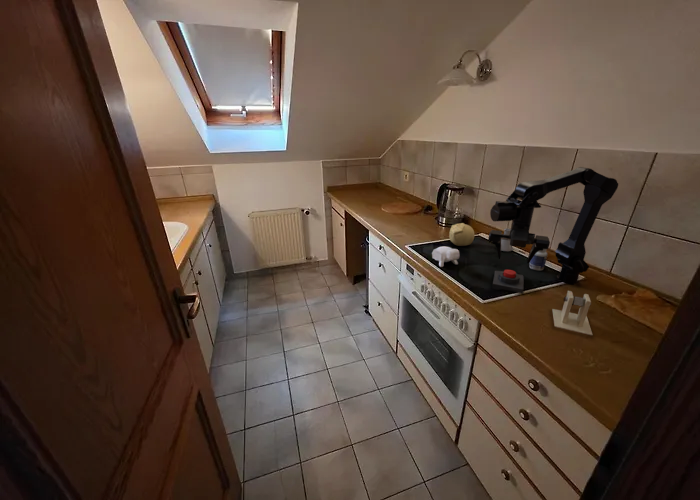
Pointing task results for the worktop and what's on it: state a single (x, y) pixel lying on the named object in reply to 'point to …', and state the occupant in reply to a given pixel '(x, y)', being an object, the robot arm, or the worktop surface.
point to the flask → (506, 242)
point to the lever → (577, 301)
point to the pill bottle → (539, 260)
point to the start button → (509, 273)
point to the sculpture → (461, 234)
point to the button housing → (508, 282)
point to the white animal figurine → (445, 255)
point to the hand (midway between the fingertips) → (513, 260)
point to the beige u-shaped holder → (573, 316)
